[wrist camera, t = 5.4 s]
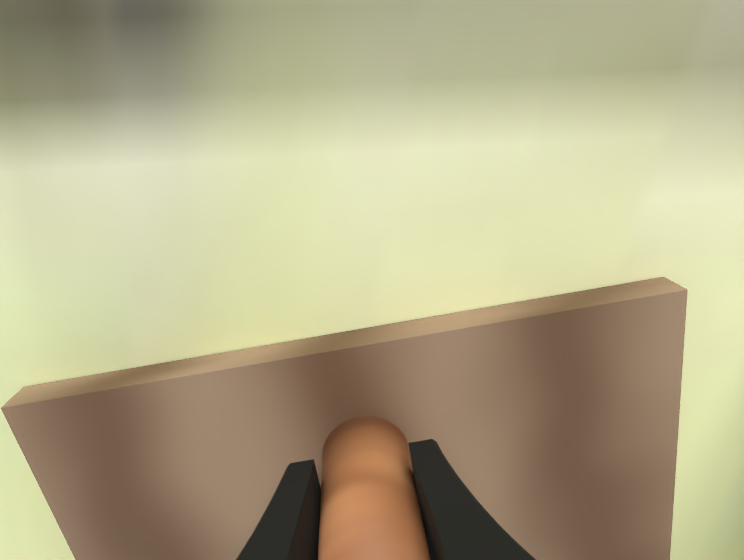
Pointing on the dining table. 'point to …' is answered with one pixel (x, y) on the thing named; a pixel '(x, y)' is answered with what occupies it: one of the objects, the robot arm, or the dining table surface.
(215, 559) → the thin wooden panel
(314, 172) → the dining table surface
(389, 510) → the joystick
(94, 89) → the dining table surface
